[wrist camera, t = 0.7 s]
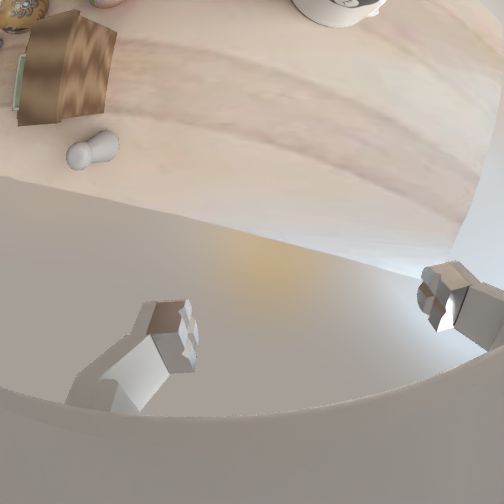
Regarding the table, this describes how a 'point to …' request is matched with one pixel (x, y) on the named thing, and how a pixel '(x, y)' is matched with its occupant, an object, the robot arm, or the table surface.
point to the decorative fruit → (105, 3)
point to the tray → (18, 82)
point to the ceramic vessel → (21, 14)
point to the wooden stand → (65, 69)
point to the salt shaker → (93, 150)
